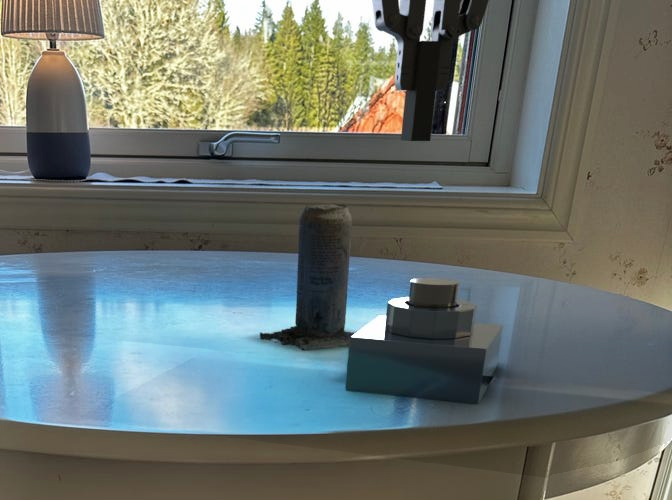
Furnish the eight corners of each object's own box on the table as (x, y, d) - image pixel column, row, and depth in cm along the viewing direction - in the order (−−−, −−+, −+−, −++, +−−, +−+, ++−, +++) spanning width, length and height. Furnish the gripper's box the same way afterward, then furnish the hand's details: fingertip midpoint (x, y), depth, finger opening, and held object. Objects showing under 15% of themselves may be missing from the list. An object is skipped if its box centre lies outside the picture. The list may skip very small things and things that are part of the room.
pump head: (458, 307, 74) (462, 279, 73) (451, 315, 71) (455, 286, 70) (412, 304, 75) (415, 276, 74) (403, 311, 72) (406, 282, 71)
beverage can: (311, 362, 82) (321, 209, 76) (254, 346, 87) (260, 202, 81) (386, 350, 86) (401, 204, 80) (327, 336, 92) (337, 198, 86)
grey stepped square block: (495, 375, 78) (507, 298, 75) (477, 404, 70) (490, 319, 67) (374, 363, 81) (381, 289, 78) (344, 390, 73) (351, 309, 70)
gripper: (529, -240, 67) (478, 140, 78) (347, -249, 65) (322, 139, 77) (578, -279, 60) (515, 142, 72) (377, -290, 59) (345, 141, 70)
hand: (415, 140), depth 74 cm, fingers closed
